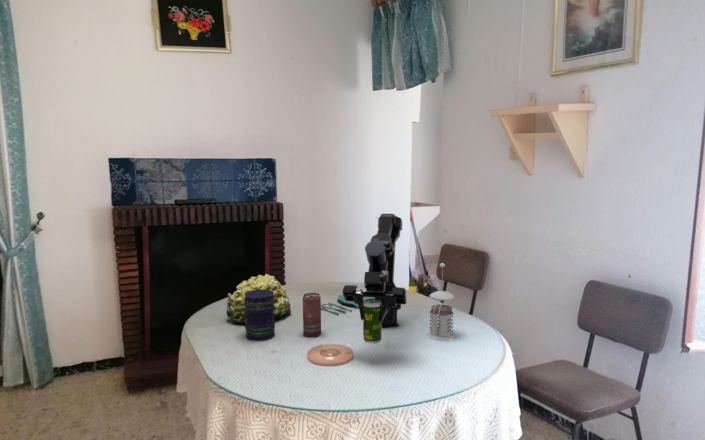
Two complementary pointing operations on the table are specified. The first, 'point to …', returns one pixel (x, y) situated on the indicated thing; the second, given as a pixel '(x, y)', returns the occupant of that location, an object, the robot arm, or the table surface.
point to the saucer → (330, 354)
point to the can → (311, 314)
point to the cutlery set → (342, 300)
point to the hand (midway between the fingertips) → (371, 320)
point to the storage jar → (259, 315)
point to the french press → (441, 316)
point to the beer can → (372, 321)
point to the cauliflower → (256, 283)
